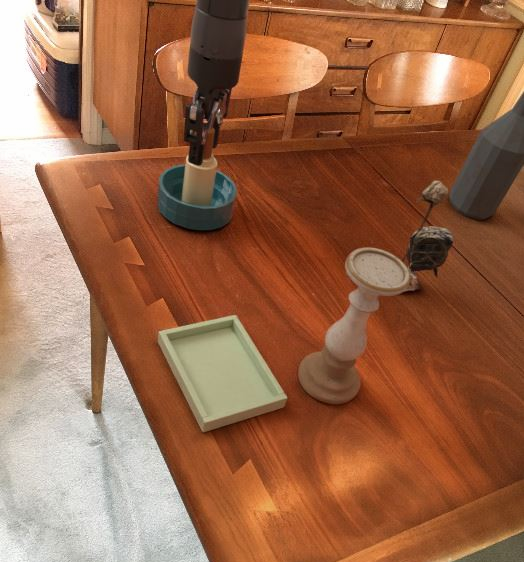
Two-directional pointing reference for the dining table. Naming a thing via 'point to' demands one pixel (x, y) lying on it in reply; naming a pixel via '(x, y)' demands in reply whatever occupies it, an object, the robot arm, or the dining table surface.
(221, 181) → the bowl
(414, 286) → the stone bird figurine
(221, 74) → the robot arm
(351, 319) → the candle holder
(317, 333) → the dining table surface
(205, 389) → the tray
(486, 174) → the bottle
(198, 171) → the stoneware bottle
